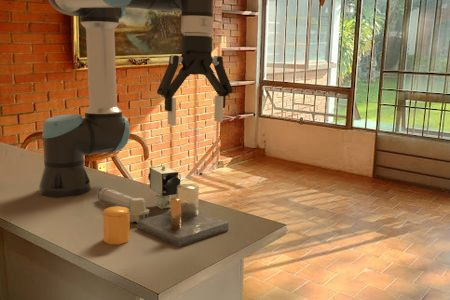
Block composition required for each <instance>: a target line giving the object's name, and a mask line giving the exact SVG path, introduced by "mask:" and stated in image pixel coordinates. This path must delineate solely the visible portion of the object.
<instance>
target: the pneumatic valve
mask: <svg viewBox="0 0 450 300" xmlns="http://www.w3.org/2000/svg"><path fill="white" fill-rule="evenodd" d="M147 178H148V181H149V189H150V190H152V191H154V192H156V193H157V194H156V195H155V198H156V199H155V200H156V201H155V202H156V203H155V206H156V207H158V209H161V210H163V209H167V208H169V209H171V199H172V198H173V197H172V196H173V195H177V186H178V185H181V179H180V178H179V172H178V171H177V170H176V169H174V168H170V167H167V166H166V165H159V166H152V167H149V172H148V175H147Z"/></svg>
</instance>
